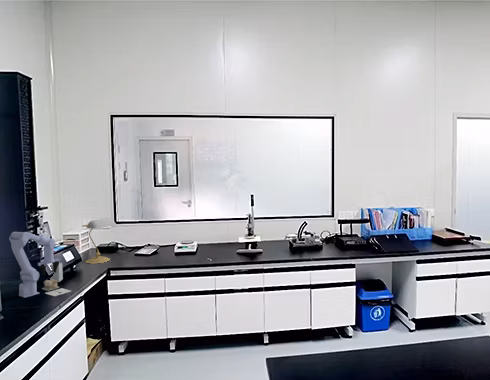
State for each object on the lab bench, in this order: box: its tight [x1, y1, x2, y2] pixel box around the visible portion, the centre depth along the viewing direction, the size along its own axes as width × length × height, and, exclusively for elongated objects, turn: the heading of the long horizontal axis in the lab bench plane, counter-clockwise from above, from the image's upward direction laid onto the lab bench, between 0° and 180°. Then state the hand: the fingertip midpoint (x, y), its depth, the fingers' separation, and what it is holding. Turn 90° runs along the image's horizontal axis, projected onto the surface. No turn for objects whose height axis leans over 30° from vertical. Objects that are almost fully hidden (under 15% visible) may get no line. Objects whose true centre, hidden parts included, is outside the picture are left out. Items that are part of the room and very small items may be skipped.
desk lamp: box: [82, 217, 117, 265], centre depth 318 cm, size 31×23×40 cm
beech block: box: [44, 279, 58, 291], centre depth 238 cm, size 5×7×5 cm
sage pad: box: [41, 285, 60, 292], centre depth 239 cm, size 8×8×1 cm
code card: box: [44, 288, 72, 297], centre depth 230 cm, size 12×12×1 cm
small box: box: [50, 262, 64, 283], centre depth 256 cm, size 8×6×13 cm
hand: (49, 273), depth 242 cm, fingers open, 7 cm apart
